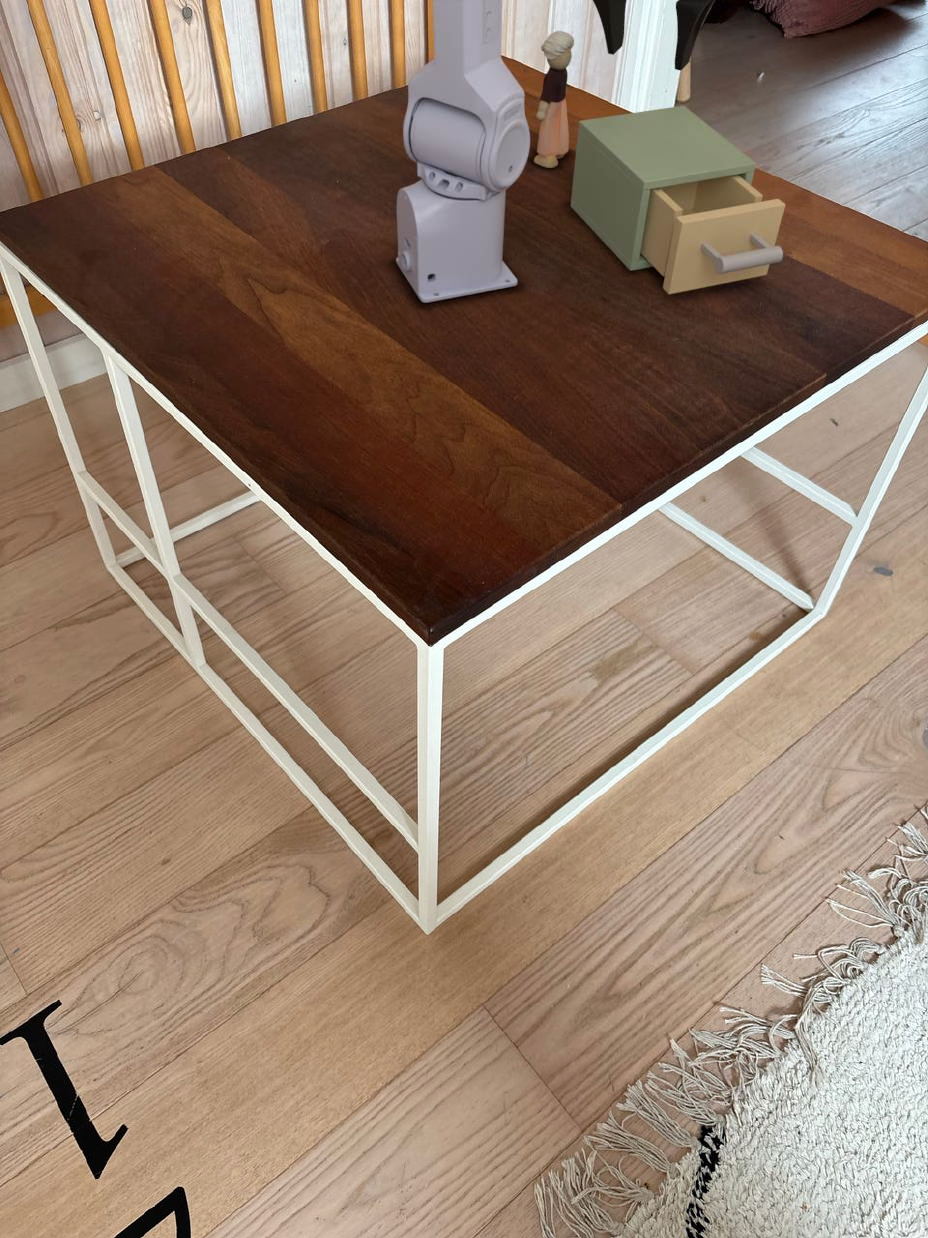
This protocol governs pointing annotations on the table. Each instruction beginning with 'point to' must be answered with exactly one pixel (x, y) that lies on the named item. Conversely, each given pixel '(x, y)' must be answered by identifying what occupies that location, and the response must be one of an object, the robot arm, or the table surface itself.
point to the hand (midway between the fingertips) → (648, 57)
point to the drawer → (710, 233)
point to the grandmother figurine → (554, 101)
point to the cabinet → (643, 170)
